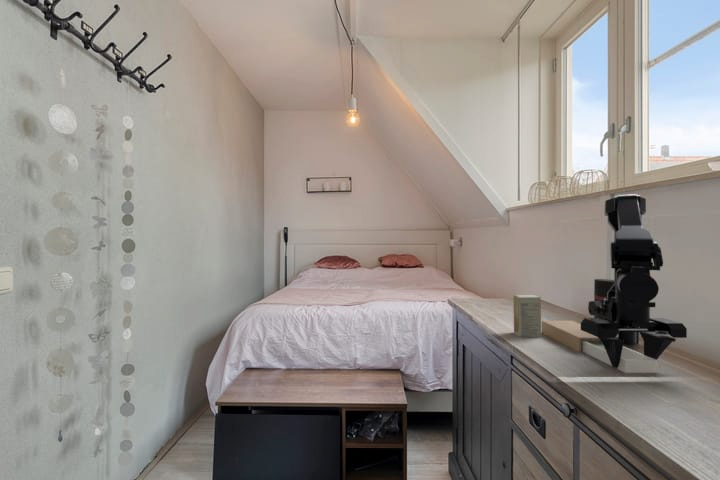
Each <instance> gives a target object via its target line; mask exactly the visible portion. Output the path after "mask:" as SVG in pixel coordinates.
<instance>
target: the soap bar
mask: <svg viewBox="0 0 720 480" xmlns="http://www.w3.org/2000/svg"><path fill="white" fill-rule="evenodd" d="M588 343H590V344H593V345H595V346H597V347H599V348H601V349H604V350H606V349H605V347H604V345H603V344H601V343H599V342H588Z"/></svg>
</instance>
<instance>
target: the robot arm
mask: <svg viewBox="0 0 720 480" xmlns="http://www.w3.org/2000/svg"><path fill="white" fill-rule="evenodd" d="M646 213H647V199H646V198H645V197H642V196H641V194H635V193H633V194H618V195H616V196H613V197H612V198H609V199H607V200H605V202H604V216H606V217H607V223H608V225H609V226H610V227H611V229H612V230H613V233H614V237H613V241H610V247H609V251H610V252H609V253H610V254H609V255H610V256H609V257H610V268H611V269H613V280H614V285H613V286H612V287H611V289H610V290H609V291H608V292H607V299H604V304H602V303H601V302H600V301H594V300H591V301H588V306H587V308H588V309H587V311H588V314H589V315H590V316H594V315H596V316H597V318H594V317H584V318H583V319H582V320H581V321H580V324H581V330H582V331H584V332H587V333H589V334H592V335H594V336H596V337H598V338H599V339H600V340H601V341H602V343H603V345H604V347H605V349H606V352H607V354H608V357H609V359H610V362H611V364H612V366H613V367H612V366H611V367H612V368H614V367H615V368H614V369H616V368H618V366H619V363H620V358H621V353H622V348H623V346H624V345H627V346H635V345H637V344H639V343H640V341H639V340H640V336H641V338H642V340H643V354H644V355H646V356H649V357H651V358H654V359H656V360H659V358H660V356H661V355H662V353H663V352H664V351H666V350H667V348H668V347H669V346H670V345H671V344H672V343H674V342H676V341H677V339H678V338H679V339H684V338H688V337H687V335H688V334H687V332H688V329H687V328H686V326H685V325H684V323H682V322H679V321H676V320H672V319H668V318H664V317H651V308H656V301H652V300H655V298H656V297H657V295H658V294H659V290H660V289H659V284H658V282H657V281H656V280H655V279H654V278H653V277H652V276H651V271H661V268H662V267H663V265H664V259H663V255H662V249H661V247H660V246H659V243H658V242H657V241H654V238H653V237H654V236H653V235H652V232H650V231H649V230H646V229H645V228H643V221H642V216H644V215H645V214H646ZM603 319H604V320H603ZM676 338H677V339H676Z"/></svg>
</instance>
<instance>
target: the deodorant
mask: <svg viewBox="0 0 720 480" xmlns="http://www.w3.org/2000/svg"><path fill="white" fill-rule="evenodd" d="M593 284H594V289H593V290H594V291H593V292H594V293H593V297H594V299H593V301H600V302H601V303H602V304H604V299H607V292H608V291H609V290H610V289H611V287H612V286H613V285H614V279H607V278H594V283H593ZM593 318H597V316H596V315H593ZM603 320H604V319H603Z"/></svg>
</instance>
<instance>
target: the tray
mask: <svg viewBox="0 0 720 480" xmlns="http://www.w3.org/2000/svg"><path fill="white" fill-rule="evenodd" d="M588 342H599V343H601V344H603V343H602V341H601V340H600V339H581V352H582V353H585V354H587V355H588V356H590V357H593V358H594V359H597V360H598V361H601V362H603V363H604V364H607V365H609V366H611V367H612V368H614V369H616V370H618V371H621V372H622V373H625V374H658V372H659V369H658V367H659V366H658V364H659V362H658V361H659V359H657V360H656V359H654V358H651V357H649V356H646V355H644V353H641V352H638V351H636V350H634V349H632V348H628V347H626V346H625V345H623V348H622V353H621V358H620V363H619V366H618V368H615V367H613V366H612V364H611V362H610V359H609V357H608V354H607V352H606V350H604V349H601V348H599V347H597V346H595V345H593V344H590V343H588Z"/></svg>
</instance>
